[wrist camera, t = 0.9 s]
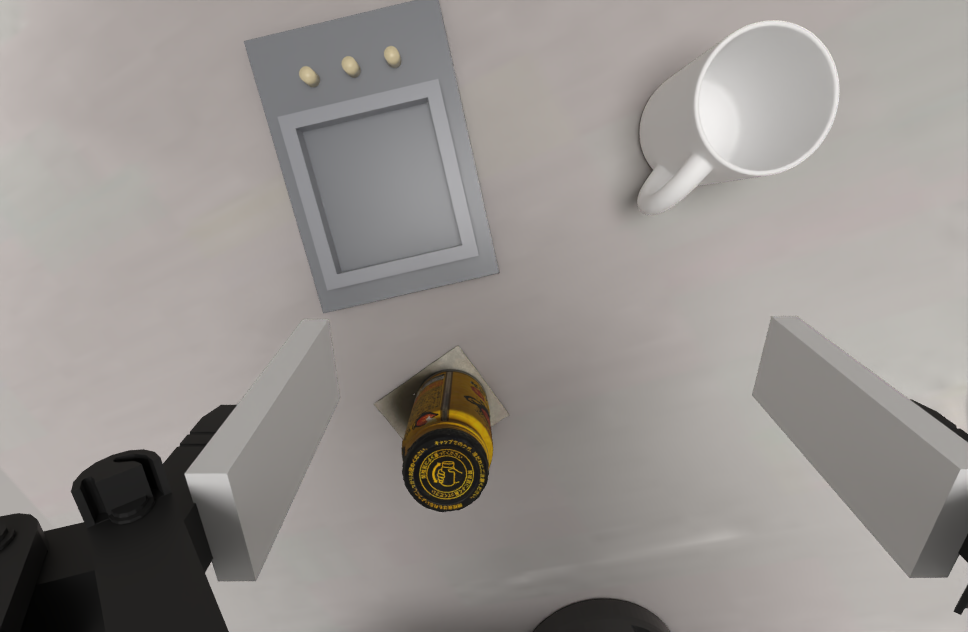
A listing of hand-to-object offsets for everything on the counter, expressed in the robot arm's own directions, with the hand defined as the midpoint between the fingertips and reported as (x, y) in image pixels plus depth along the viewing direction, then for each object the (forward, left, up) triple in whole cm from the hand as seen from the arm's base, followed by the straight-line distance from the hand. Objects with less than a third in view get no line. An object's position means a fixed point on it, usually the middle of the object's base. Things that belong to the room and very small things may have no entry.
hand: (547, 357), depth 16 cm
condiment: (-10, +7, -26) cm, 28 cm away
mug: (+6, -15, -26) cm, 30 cm away
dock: (+10, +7, -25) cm, 28 cm away
